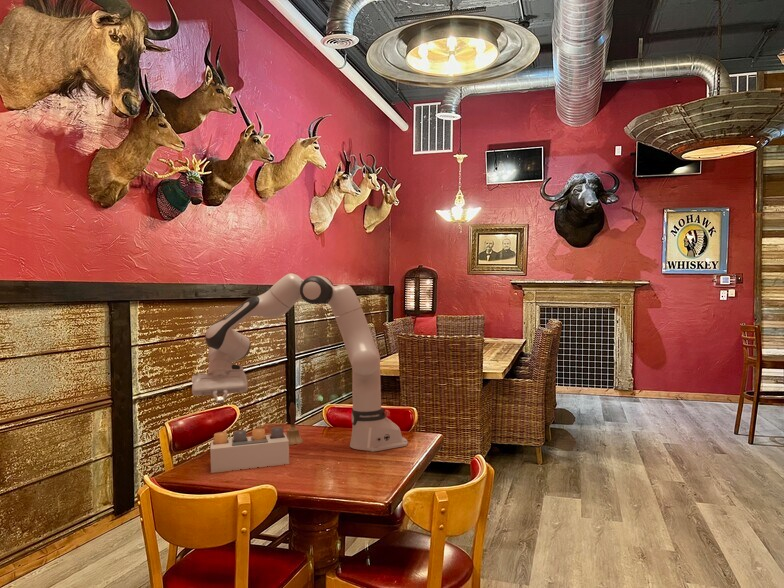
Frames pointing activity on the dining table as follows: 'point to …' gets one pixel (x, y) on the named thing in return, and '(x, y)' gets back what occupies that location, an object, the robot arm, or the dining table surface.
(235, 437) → the charcoal key middle
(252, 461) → the keypad
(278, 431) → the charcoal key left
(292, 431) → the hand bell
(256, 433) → the orange key
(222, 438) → the orange key
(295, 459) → the dining table surface
